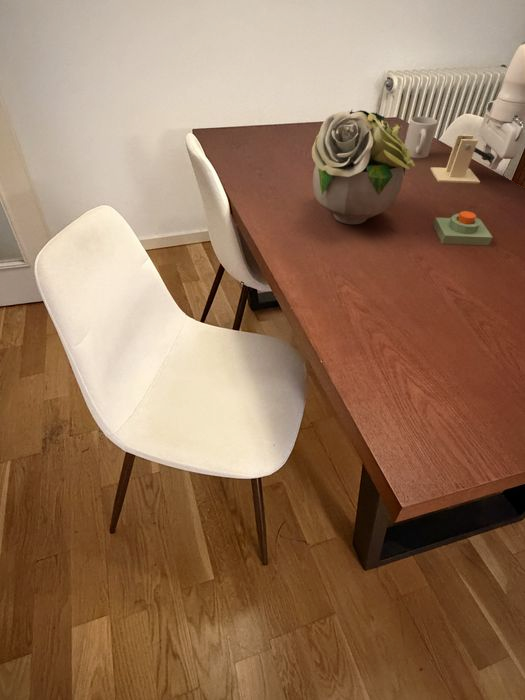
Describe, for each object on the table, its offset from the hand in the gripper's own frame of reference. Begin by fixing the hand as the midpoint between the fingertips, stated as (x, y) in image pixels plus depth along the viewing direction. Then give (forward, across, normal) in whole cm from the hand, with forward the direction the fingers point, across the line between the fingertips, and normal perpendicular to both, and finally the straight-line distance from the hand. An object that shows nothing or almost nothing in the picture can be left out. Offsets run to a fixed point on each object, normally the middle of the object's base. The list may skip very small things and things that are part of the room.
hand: (488, 163), depth 119 cm
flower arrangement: (+5, -28, +43) cm, 51 cm away
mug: (+5, +17, +17) cm, 24 cm away
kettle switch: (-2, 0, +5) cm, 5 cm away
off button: (+1, -35, +17) cm, 39 cm away
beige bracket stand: (+5, 0, +9) cm, 10 cm away
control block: (+5, -35, +17) cm, 39 cm away
